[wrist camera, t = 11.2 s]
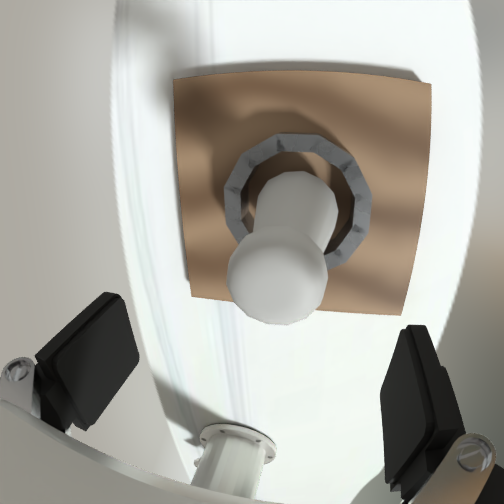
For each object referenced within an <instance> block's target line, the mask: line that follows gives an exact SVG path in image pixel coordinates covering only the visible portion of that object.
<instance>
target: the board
mask: <svg viewBox="0 0 504 504" xmlns="http://www.w3.org/2000/svg"><path fill="white" fill-rule="evenodd" d="M173 90H174V116H175V135H176V152H177V166H178V179H179V191H180V202H181V212H182V222H183V232H184V241H185V249H186V258H187V266H188V274H189V281H190V288H191V296H192V297H198V298H206V299H214V300H222V301H230V302H233V299H232V297H231V294H230V292H229V290H228V287H227V285H226V281H227V271H228V264H229V260H230V257H231V255H232V254H233V252H234V251H235V249H236V248H237V247H238V245H239V244H238V243H237V241H236V240H235V238H234V236H233V235H232V233H231V231H230V230H229V228H228V227H227V225H226V219H225V200H224V186H225V184H226V182H227V180H228V178H229V177H230V175H231V173H232V171H233V169H234V167H235V165H236V163H237V162H238V160H239V158H240V156H241V154H242V153H244V152H246V151H247V150H249V149H251V148H252V147H254V146H256V145H258V144H259V143H261V142H263V141H265V140H266V139H268V138H270V137H272V136H274V135H275V134H277V133H280V132H296V133H319V134H321V135H323V136H324V137H326V138H328V139H329V140H331V141H332V142H334V143H335V144H337V145H339V146H340V147H342V148H343V149H345V150H346V151H348V152H349V153H351V154H352V155H353V157H354V158H355V160H356V162H357V164H358V166H359V168H360V170H361V172H362V174H363V176H364V178H365V180H366V182H367V184H368V186H369V188H370V191H371V193H372V205H371V215H370V224H369V233H368V234H367V236H366V237H365V238H364V240H363V241H362V242H361V244H360V245H359V246H358V248H357V249H356V250H355V252H354V253H353V254H352V255H351V257H350V258H349V259H348V261H347V262H346V263H344V264H341V265H339V266H337V267H334V268H332V269H330V270H327V272H328V281H327V285H326V288H325V292H324V296H323V299H322V301H321V304H320V305H319V306H318V307H317V308H316V309H315V310H321V311H334V312H347V313H362V314H379V315H399V316H401V313H402V310H403V306H404V302H405V298H406V295H407V291H408V286H409V282H410V278H411V274H412V269H413V264H414V260H415V255H416V250H417V245H418V239H419V234H420V228H421V222H422V215H423V208H424V201H425V193H426V185H427V176H428V165H429V153H430V136H431V84H429V83H424V82H418V81H412V80H406V79H400V78H393V77H386V76H378V75H369V74H359V73H347V72H331V71H302V70H281V71H251V72H235V73H223V74H213V75H204V76H196V77H188V78H181V79H174V80H173ZM295 171H305V172H307V173H309V174H312V175H314V176H316V177H318V178H320V179H322V180H323V181H324V183H325V184H326V185H327V186H328V187H329V188H330V189H331V190H332V192H333V193H334V195H335V199H336V203H337V208H338V216H337V220H336V225H335V229H334V231H333V233H332V236H331V238H330V240H331V239H333V238H335V237H336V235H337V234H338V233H339V231H340V230H341V228H342V227H343V226H344V224H345V223H346V222H347V220H348V219H349V217H350V210H351V198H352V191H351V189H350V187H349V185H348V183H347V181H346V179H345V177H344V175H343V173H342V171H341V170H340V169H339V168H337V167H336V166H334V165H333V164H331V163H330V162H328V161H326V160H325V159H323V158H322V157H320V156H319V155H317V154H315V153H312V152H287V151H281V152H280V153H278V154H276V155H274V156H272V157H270V158H269V159H267V160H265V161H263V162H261V163H260V165H259V167H258V169H257V170H256V172H255V174H254V176H253V177H252V179H251V181H250V183H249V184H248V185H249V211H250V213H251V214H252V216H253V218H254V219H255V213H256V206H257V200H258V195H259V193H260V192H261V190H262V189H263V187H264V186H265V184H266V183H267V181H268V180H270V179H272V178H274V177H276V176H278V175H280V174H282V173H284V172H295Z"/></svg>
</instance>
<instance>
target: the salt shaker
mask: <svg viewBox="0 0 504 504" xmlns="http://www.w3.org/2000/svg"><path fill="white" fill-rule="evenodd" d="M337 216H338V208H337V203H336V199H335V195H334V193H333V192H332V190H331V189H330V188H329V187H328V186H327V185H326V184H325V183H324V181H323V180H322V179H320V178H318V177H316V176H314V175H312V174H309V173H307V172H305V171H295V172H284V173H282V174H280V175H278V176H276V177H274V178H272V179H270V180H268V181H267V183H266V184H265V186H264V187H263V189H262V190H261V192H260V193H259V195H258V200H257V206H256V213H255V220H254V228H253V233H251V234H248V235H246V236H245V237H244V238H243V240H242V241H241V242H240V244H239V245H238V247H237V248H236V249H235V251H234V252H233V254H232V255H231V257H230V260H229V264H228V271H227V281H226V285H227V287H228V290H229V292H230V294H231V297H232V299H233V302H234V303H235V304H236V305H237V306H238V307H239V308H240V309H241V310H242V311H243V312H244V313H245V314H246V315H247V316H249V317H251V318H254V319H256V320H258V321H261V322H263V323H266V324H275V325H289V324H292V323H295V322H298V321H300V320H303V319H306V318H307V317H308V316H309V315H310V314H311V313H312V312H313V311H314V310H315V309H316V308H317V307H318V306H319V305H320V304H321V301H322V299H323V296H324V292H325V288H326V285H327V281H328V272H327V267H326V263H325V259H324V254H323V253H324V251H325V249H326V247H327V244H328V242H329V240H330V238H331V236H332V233H333V231H334V229H335V225H336V220H337Z"/></svg>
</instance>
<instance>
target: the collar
mask: <svg viewBox="0 0 504 504" xmlns="http://www.w3.org/2000/svg"><path fill="white" fill-rule="evenodd" d="M281 151H287V152H312V153H315V154H317V155H319V156H320V157H322V158H323V159H325V160H326V161H328V162H330V163H331V164H333V165H334V166H336V167H337V168H339V169H340V170H341V171H342V173H343V175H344V177H345V179H346V181H347V183H348V185H349V187H350V189H351V191H352V198H351V210H350V217H349V219H348V220H347V222H346V223H345V224H344V226H343V227H342V228H341V230H340V231H339V233H338V234H337V235H336V237H335V238H333V239H331V240H329V242H328V244H327V247H326V249H325V251H324V253H323V254H324V259H325V263H326V267H327V270H330V269H332V268H334V267H337V266H339V265H341V264H344V263H346V262H347V261H348V259H349V258H350V257H351V255H352V254H353V253H354V252H355V250H356V249H357V248H358V246H359V245H360V244H361V242H362V241H363V240H364V238H365V237H366V236H367V234H368V233H369V224H370V215H371V205H372V193H371V191H370V188H369V186H368V184H367V182H366V180H365V178H364V176H363V174H362V172H361V170H360V168H359V166H358V164H357V162H356V160H355V158H354V157H353V155H352V154H351V153H349V152H348V151H346V150H345V149H343V148H342V147H340V146H339V145H337V144H335V143H334V142H332V141H331V140H329V139H328V138H326V137H324V136H323V135H321V134H319V133H296V132H280V133H277V134H275V135H274V136H272V137H270V138H268V139H266V140H265V141H263V142H261V143H259V144H258V145H256V146H254V147H252V148H251V149H249V150H247V151H246V152H244V153H242V154H241V156H240V158H239V160H238V162H237V163H236V165H235V167H234V169H233V171H232V173H231V175H230V177H229V178H228V180H227V182H226V184H225V186H224V200H225V219H226V225H227V227H228V228H229V230H230V231H231V233H232V235H233V236H234V238H235V240H236V241H237V243H238V244H240V242H241V241H242V240H243V238H244V237H245V236H246V235H248V234H251V233H253V228H254V220H255V219H254V218H253V216H252V214H251V213H250V211H249V185H248V184H249V183H250V181H251V179H252V177H253V176H254V174H255V172H256V170H257V169H258V167H259V165H260V163H261V162H263V161H265V160H267V159H269V158H270V157H272V156H274V155H276V154H278V153H280V152H281Z"/></svg>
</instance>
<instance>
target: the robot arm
mask: <svg viewBox="0 0 504 504" xmlns="http://www.w3.org/2000/svg"><path fill="white" fill-rule="evenodd" d="M35 358H36V360H37V362H38V363H37V364H36V365H35V364H34V362H33V361H32V360H31V359H29V358H26V357H19V358H16V359H14V360H12V361H10V362H9V363H8V364H7V365H6V366H5V367H4V368H3V371H2V373H1V377H0V504H282V503H274V502H267V501H261V500H255V495H256V491H257V488H258V484H259V480H260V476H261V473H262V469H263V465H264V464H267V463H270V462H271V461H273V460H274V459H275V457H276V453H277V448H276V446H275V444H274V443H273V442H272V441H271V440H270V439H268V438H267V437H266V436H264V435H262V434H260V433H258V432H256V431H254V430H251V429H248V428H245V427H241V426H236V425H230V424H215V425H210V426H207V427H205V428H204V429H203V430H202V432H201V434H200V442H201V444H202V445H203V447H204V448H205V450H204V453H203V455H202V457H201V458H198V459H196V460H195V461H194V465H195V466H196V467H197V470H196V472H195V475H194V477H193V480H192V482H191V484H190V485H188V484H185V483H182V482H179V481H175V480H172V479H169V478H166V477H163V476H160V475H157V474H154V473H151V472H149V471H146V470H143V469H140V468H138V467H135V466H133V465H130V464H128V463H125V462H123V461H121V460H118V459H116V458H114V457H111V456H109V455H107V454H105V453H102V452H100V451H98V450H96V449H94V448H92V447H90V446H88V445H86V444H84V443H82V442H80V441H78V440H76V439H74V438H72V437H71V428H70V425H71V424H72V423H74V425H75V426H76V427H78V428H80V429H83V430H84V431H87V429H88V428H89V426H90V425H93V424H95V422H96V421H97V419H98V418H99V417H100V415H101V414H102V413H103V411H104V410H105V408H106V407H107V406H108V404H109V403H110V401H111V400H112V398H113V397H114V396H115V394H116V393H117V392H118V390H119V389H120V387H121V386H122V385H123V383H124V382H125V381H126V379H127V377H128V376H129V375H130V374H131V372H132V371H133V370H134V368H135V367H136V366H137V364H138V362H139V352H138V349H137V346H136V342H135V339H134V335H133V332H132V328H131V324H130V321H129V317H128V313H127V309H126V305H125V302H124V300H123V299H122V298H121V296H120V295H119V294H115V293H110V292H104V293H102V294H101V295H100V296H99V297H98V298H97V299H96V300H94V301H93V302H92V303H91V304H90V305H89V306H87V307H86V308H85V309H84V310H83V311H82V312H81V313H80V314H79V315H77V317H75V318H74V319H73V320H72V321H71V322H70V323H69V324H67V325H66V326H65V327H64V328H63V329H62V330H61V331H60V332H59V333H58V334H57V335H56V336H55V337H53V338H52V339H51V340H50V341H49V342H48V343H47V344H46V345H45V346H44V347H43V348H42V349H41V350H40V351H39V352H38V353H37V354H36V355H35ZM380 403H381V414H382V426H383V441H384V462H385V482H386V483H387V484H388V483H390V491H391V492H394V491H401V498H402V499H403V501H402V502H401V503H400V504H504V469H503V468H502V467H500V466H498V465H497V464H495V461H496V450H495V447H494V445H493V444H492V442H491V441H490V440H489V439H488V438H487V437H485V436H484V435H481V434H478V433H468V434H466V432H465V428H464V425H463V421H462V417H461V414H460V410H459V407H458V404H457V400H456V397H455V394H454V391H453V388H452V385H451V382H450V379H449V376H448V373H447V370H446V368H445V367H443V366H441V365H440V363H439V360H438V357H437V354H436V351H435V348H434V346H433V343H432V340H431V338H430V335H429V333H428V330H427V328H426V326H425V325H408V326H407V327H406V329H402V330H401V331H400V334H399V337H398V341H397V344H396V347H395V350H394V353H393V356H392V359H391V362H390V365H389V368H388V371H387V374H386V376H385V379H384V382H383V385H382V387H381V391H380Z"/></svg>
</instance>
